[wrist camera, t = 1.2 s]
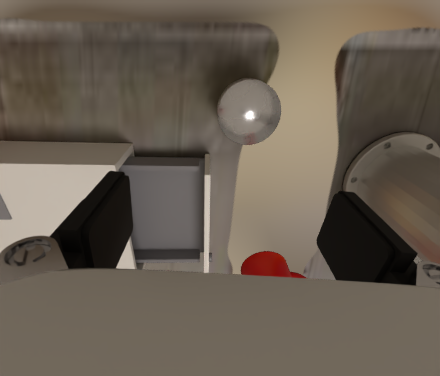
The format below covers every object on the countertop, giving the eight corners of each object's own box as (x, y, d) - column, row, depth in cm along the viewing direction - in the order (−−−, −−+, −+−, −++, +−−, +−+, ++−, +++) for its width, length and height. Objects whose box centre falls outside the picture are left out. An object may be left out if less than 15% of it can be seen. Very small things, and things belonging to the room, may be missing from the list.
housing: (132, 143, 29) (114, 166, 23) (148, 252, 38) (138, 289, 32) (-15, 140, 28) (-73, 163, 22) (36, 253, 37) (5, 291, 31)
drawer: (213, 154, 30) (214, 175, 25) (210, 248, 38) (211, 279, 33) (72, 151, 29) (42, 173, 24) (99, 248, 37) (81, 280, 32)
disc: (280, 79, 23) (286, 81, 21) (271, 139, 26) (275, 145, 24) (218, 76, 23) (218, 78, 21) (216, 138, 26) (216, 144, 24)
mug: (302, 285, 44) (320, 329, 37) (237, 282, 42) (243, 327, 36) (315, 254, 40) (338, 295, 33) (245, 249, 39) (253, 292, 32)
